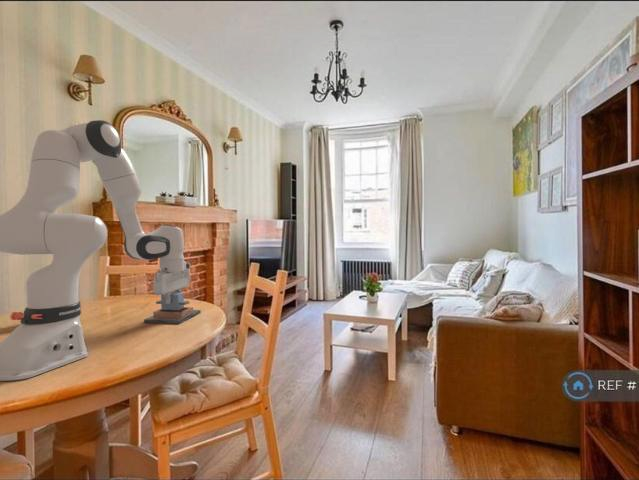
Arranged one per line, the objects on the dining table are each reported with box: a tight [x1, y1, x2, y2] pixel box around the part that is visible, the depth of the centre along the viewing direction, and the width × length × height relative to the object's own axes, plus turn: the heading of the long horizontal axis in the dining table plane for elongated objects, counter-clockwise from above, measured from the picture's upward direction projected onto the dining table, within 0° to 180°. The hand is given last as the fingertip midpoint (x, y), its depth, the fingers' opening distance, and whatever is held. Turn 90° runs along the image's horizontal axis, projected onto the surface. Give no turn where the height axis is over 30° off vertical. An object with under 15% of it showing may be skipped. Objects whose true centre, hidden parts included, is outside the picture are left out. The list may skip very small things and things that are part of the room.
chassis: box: [143, 306, 201, 325], centre depth 131 cm, size 16×14×3 cm
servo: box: [155, 291, 190, 310], centre depth 132 cm, size 4×12×6 cm, turn 83°
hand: (172, 301), depth 132 cm, fingers closed on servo, 4 cm apart
